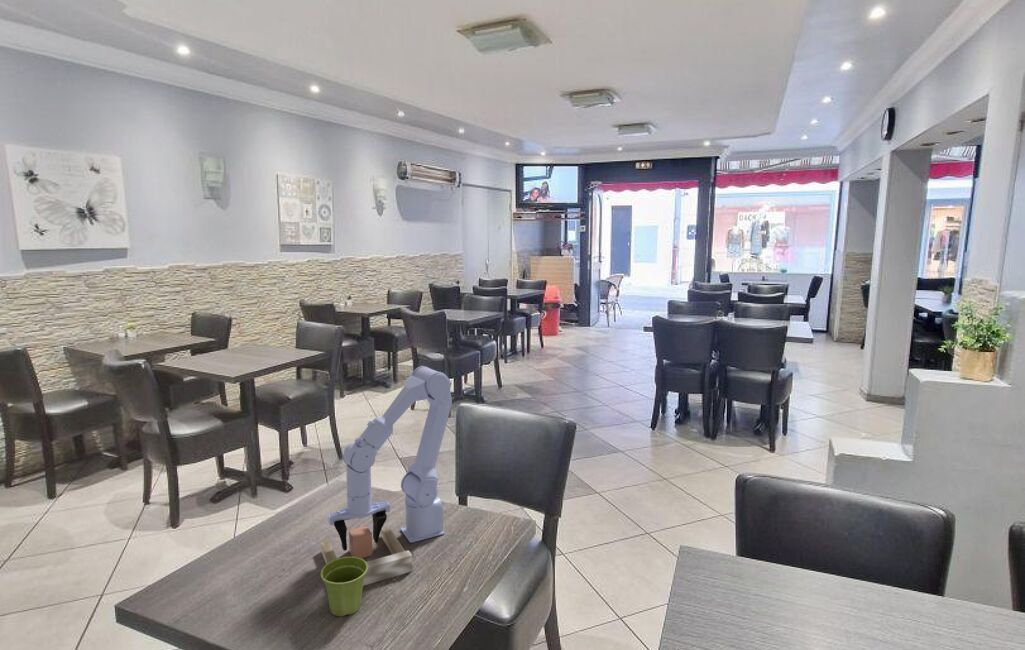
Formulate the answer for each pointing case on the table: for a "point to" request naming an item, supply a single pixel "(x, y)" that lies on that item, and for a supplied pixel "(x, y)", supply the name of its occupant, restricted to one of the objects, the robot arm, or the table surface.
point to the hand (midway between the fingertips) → (360, 544)
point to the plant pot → (344, 584)
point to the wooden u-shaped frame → (380, 559)
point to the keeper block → (360, 542)
